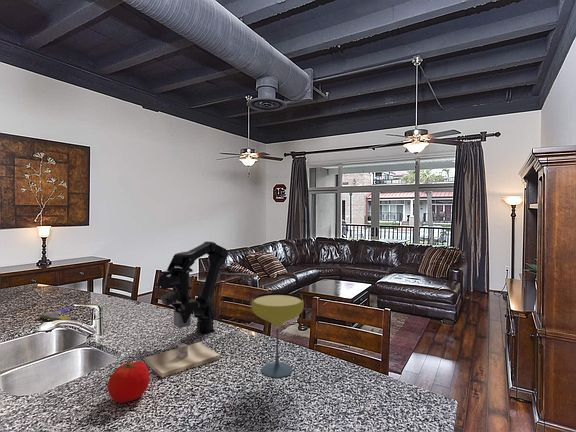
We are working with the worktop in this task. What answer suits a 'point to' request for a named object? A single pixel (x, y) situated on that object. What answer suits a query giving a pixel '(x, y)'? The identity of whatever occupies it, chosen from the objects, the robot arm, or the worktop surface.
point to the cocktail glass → (277, 322)
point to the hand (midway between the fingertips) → (182, 321)
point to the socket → (180, 319)
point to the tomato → (128, 382)
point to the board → (181, 359)
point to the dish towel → (54, 314)
